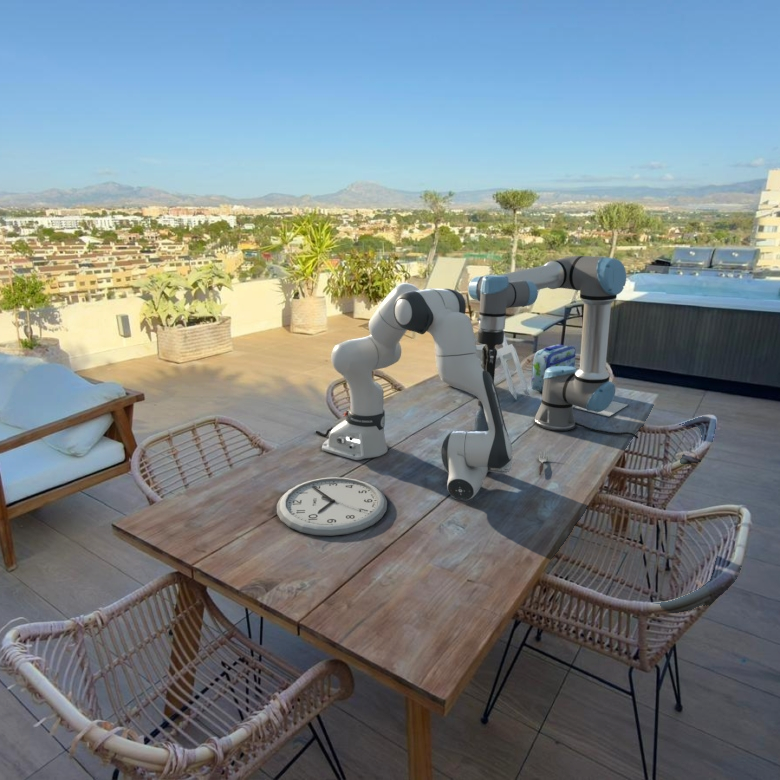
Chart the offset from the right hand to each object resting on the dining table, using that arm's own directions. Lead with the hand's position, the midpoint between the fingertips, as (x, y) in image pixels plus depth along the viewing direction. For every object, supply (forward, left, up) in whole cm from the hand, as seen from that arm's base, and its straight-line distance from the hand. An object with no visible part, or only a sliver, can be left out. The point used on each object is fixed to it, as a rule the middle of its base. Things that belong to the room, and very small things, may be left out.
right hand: (485, 405), depth 159 cm
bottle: (0, 0, -22) cm, 22 cm away
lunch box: (-38, -93, -22) cm, 103 cm away
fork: (-20, -5, -22) cm, 30 cm away
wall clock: (+41, +29, -22) cm, 55 cm away
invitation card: (-55, -70, -22) cm, 92 cm away
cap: (0, 0, +2) cm, 2 cm away
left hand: (0, -1, -15) cm, 15 cm away
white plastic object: (-3, -82, -22) cm, 85 cm away
